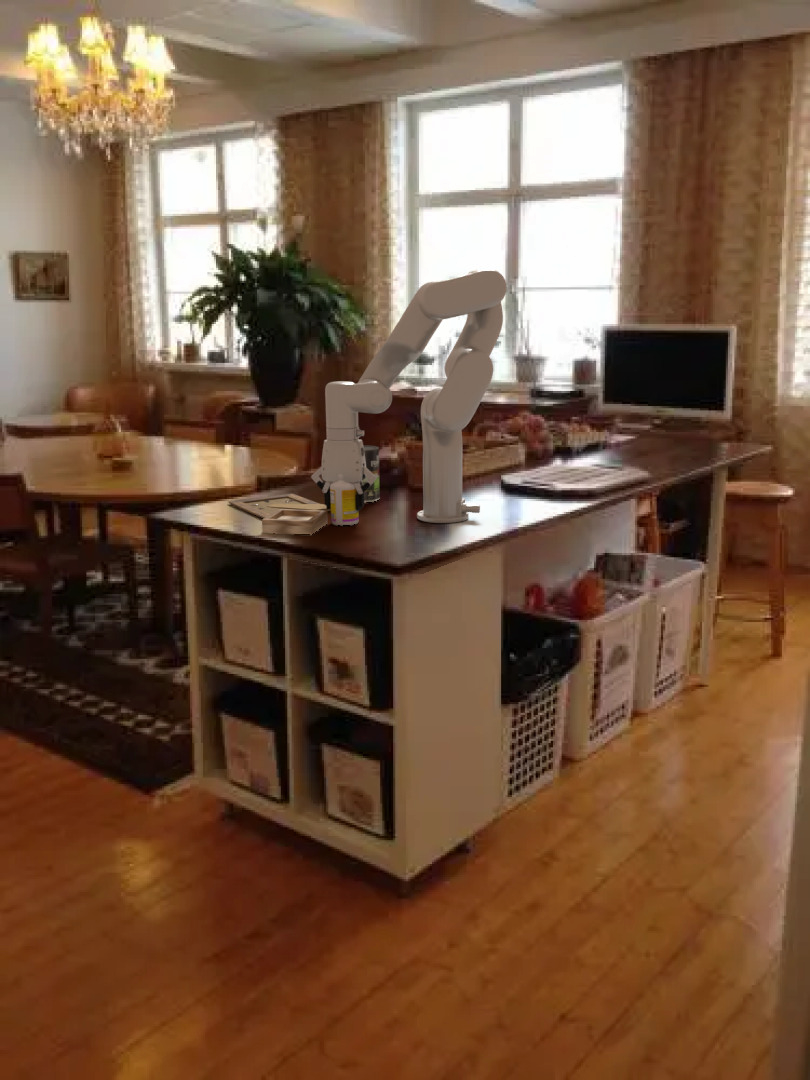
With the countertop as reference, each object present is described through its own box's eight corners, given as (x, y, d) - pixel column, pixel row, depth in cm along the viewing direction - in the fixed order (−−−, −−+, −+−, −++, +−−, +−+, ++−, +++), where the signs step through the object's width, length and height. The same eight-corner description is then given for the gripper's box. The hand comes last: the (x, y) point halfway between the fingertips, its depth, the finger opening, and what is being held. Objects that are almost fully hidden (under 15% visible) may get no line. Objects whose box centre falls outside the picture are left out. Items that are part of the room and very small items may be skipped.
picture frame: (332, 514, 248) (292, 498, 267) (332, 507, 247) (292, 492, 267) (265, 523, 238) (228, 506, 258) (264, 516, 238) (228, 500, 257)
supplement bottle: (363, 521, 236) (362, 469, 233) (350, 527, 230) (349, 474, 227) (339, 519, 239) (337, 467, 235) (326, 525, 233) (324, 472, 230)
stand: (327, 523, 234) (327, 510, 233) (311, 535, 223) (311, 521, 222) (280, 521, 237) (280, 508, 236) (262, 533, 226) (261, 519, 225)
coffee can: (383, 496, 265) (382, 445, 262) (375, 504, 256) (374, 451, 252) (347, 495, 267) (345, 444, 264) (337, 503, 258) (335, 450, 254)
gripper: (382, 433, 231) (383, 507, 235) (312, 431, 235) (315, 504, 239) (373, 437, 224) (375, 513, 228) (302, 436, 227) (305, 510, 232)
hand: (344, 508), depth 233 cm, fingers closed on supplement bottle, 6 cm apart
